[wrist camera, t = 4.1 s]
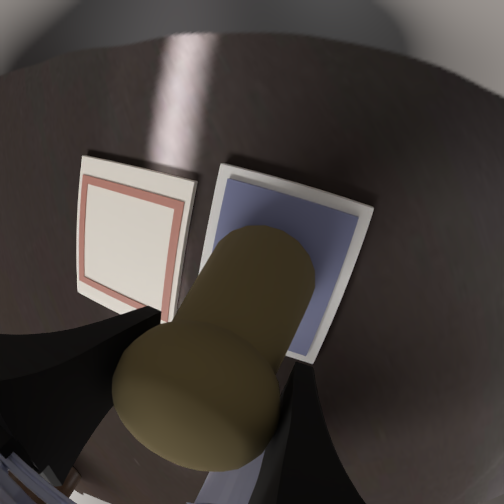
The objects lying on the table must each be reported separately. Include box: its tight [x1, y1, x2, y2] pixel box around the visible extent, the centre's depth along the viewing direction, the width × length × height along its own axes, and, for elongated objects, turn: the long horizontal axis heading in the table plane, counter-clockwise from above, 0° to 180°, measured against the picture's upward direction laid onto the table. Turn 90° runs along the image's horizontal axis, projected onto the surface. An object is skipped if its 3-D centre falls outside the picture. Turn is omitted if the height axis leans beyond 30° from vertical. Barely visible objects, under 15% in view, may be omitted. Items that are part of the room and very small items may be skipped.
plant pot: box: [8, 466, 81, 504], centre depth 41 cm, size 16×16×16 cm
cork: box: [112, 225, 315, 472], centre depth 12 cm, size 6×6×11 cm
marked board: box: [77, 155, 198, 324], centre depth 22 cm, size 12×10×1 cm
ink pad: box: [199, 163, 374, 364], centre depth 19 cm, size 11×9×1 cm
